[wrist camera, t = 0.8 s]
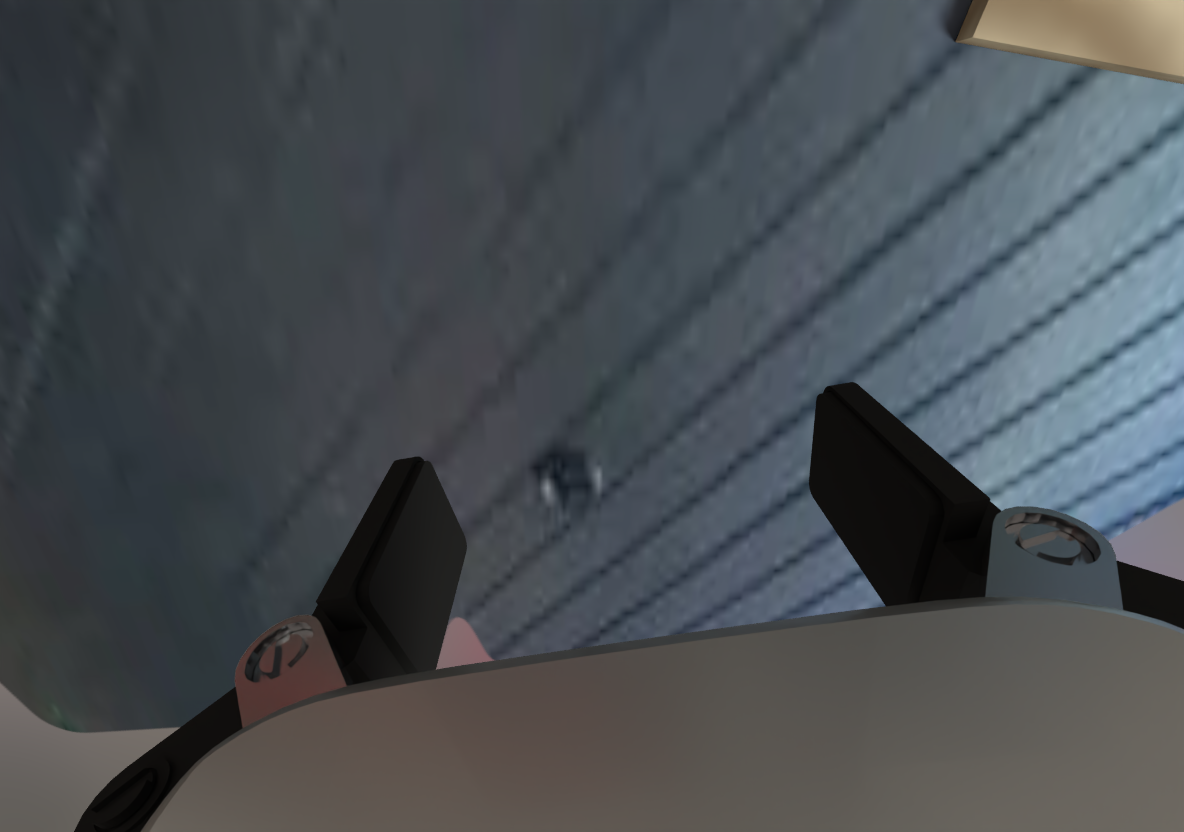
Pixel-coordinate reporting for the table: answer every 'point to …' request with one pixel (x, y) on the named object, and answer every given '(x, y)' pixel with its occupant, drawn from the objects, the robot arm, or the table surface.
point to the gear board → (1085, 33)
